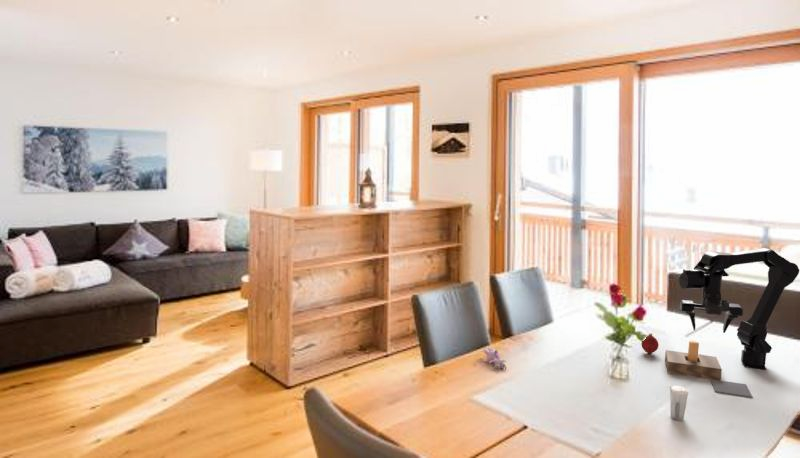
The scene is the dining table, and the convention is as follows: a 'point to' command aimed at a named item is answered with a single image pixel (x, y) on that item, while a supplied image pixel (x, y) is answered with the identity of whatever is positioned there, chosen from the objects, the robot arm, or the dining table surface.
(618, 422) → the dining table surface
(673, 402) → the milkshake
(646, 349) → the onion
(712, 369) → the hole block
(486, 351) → the rabbit figure
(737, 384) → the mat
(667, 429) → the dining table surface
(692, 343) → the peg
